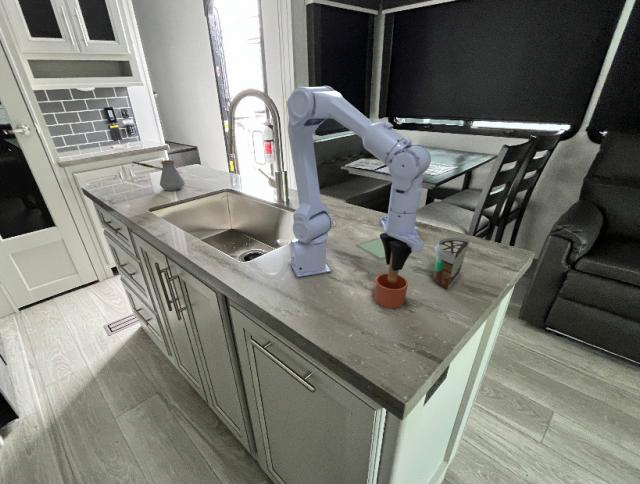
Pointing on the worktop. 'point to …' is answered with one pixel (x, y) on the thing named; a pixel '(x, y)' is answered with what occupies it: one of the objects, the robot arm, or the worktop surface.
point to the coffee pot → (168, 175)
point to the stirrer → (392, 272)
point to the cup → (390, 291)
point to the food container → (449, 260)
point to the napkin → (375, 248)
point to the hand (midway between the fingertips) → (394, 266)
